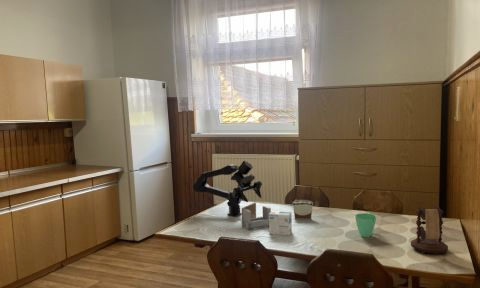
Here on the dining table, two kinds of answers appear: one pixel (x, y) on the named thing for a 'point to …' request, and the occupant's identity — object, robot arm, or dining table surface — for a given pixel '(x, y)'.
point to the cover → (251, 208)
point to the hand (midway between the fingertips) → (254, 199)
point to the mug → (365, 223)
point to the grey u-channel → (255, 219)
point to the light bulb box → (280, 223)
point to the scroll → (429, 231)
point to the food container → (302, 209)
